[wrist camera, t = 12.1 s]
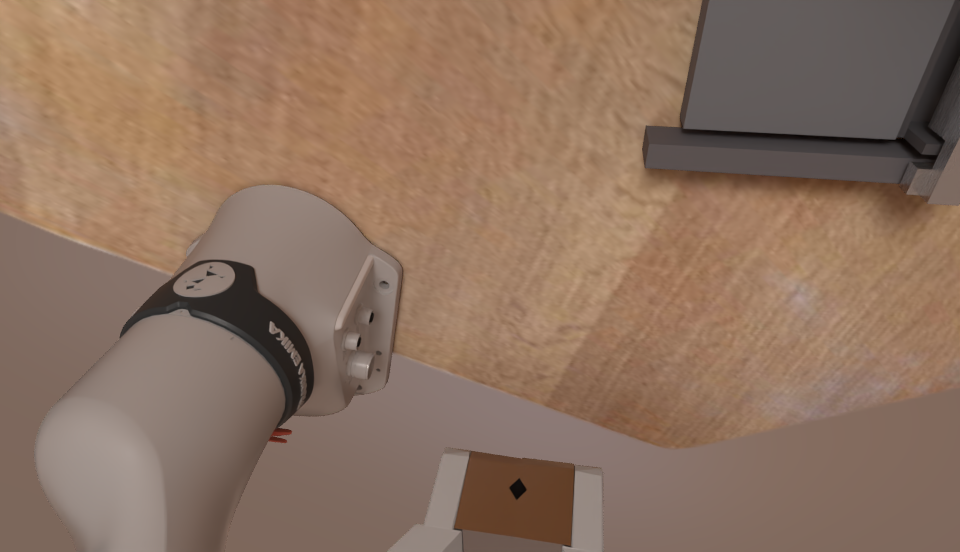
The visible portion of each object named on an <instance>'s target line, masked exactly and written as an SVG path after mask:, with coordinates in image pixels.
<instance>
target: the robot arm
mask: <svg viewBox="0 0 960 552" xmlns="http://www.w3.org/2000/svg"><path fill="white" fill-rule="evenodd" d="M186 256H187V258H186V259H185V261H184V262H183V263H182V264H181V266H180V267H179V268H178V270H177V271H176V272H175V274H174V275H173V276H172V277H171V279H170V280H169V281H168V282H167V283H165V284H164V285H163V286H161V287H160V288H159V289H158V290H157V291H156V292H155V293H154V294H153V295H152V296H151V297H150V298H149V299H148V300H147V301H146V302H145V303H144V304H143V305H142V306H141V307H139V308H138V309H137V310H136V311H135V312H134V313H133V315H132V316H131V318H130V319H129V320H128V321H127V322H126V324H125V325H124V327H123V329H122V331H121V334H120V339H119V340H118V341H117V342H116V343H115V344H114V345H113V346H112V347H111V348H110V349H109V350H108V351H107V352H106V353H105V354H104V355H103V356H102V357H101V358H100V359H99V360H98V361H97V362H96V363H95V364H94V365H93V366H92V367H91V368H90V369H89V370H88V371H87V372H86V373H85V374H84V375H83V376H82V377H81V378H80V379H79V380H78V381H77V382H76V383H75V384H74V385H73V386H72V387H71V388H70V389H69V390H68V391H67V392H66V393H65V394H64V395H63V396H62V397H61V398H60V399H59V400H58V401H57V402H56V403H55V404H54V405H53V406H52V408H51V409H50V410H49V412H48V413H47V415H46V416H45V418H44V419H43V422H42V424H41V426H40V428H39V430H38V433H37V437H36V442H35V449H34V457H35V467H36V472H37V476H38V479H39V482H40V485H41V487H42V489H43V492H44V494H45V496H46V498H47V500H48V502H49V503H50V505H51V507H52V508H53V510H54V511H55V513H56V514H57V516H58V517H59V519H60V520H61V522H62V523H63V525H64V526H65V527H66V529H67V531H68V533H69V534H70V536H71V539H72V541H73V544H74V547H75V550H76V552H225V547H226V541H227V537H228V532H229V528H230V525H231V522H232V518H233V515H234V513H235V510H236V508H237V505H238V503H239V501H240V498H241V496H242V494H243V492H244V489H245V487H246V485H247V483H248V481H249V478H250V476H251V474H252V472H253V470H254V468H255V466H256V464H257V462H258V460H259V458H260V456H261V454H262V452H263V450H264V448H265V446H266V444H267V442H268V441H272V442H281V443H286V442H287V440H285V439H282V438H277V437H273V436H281V435H289V434H291V433H292V431H291V430H288V429H281V428H278V427H280V426H281V425H282V424H283V423H285V422H286V421H287V420H288V419H289V418H290V417H291V416H292V415H294V416H325V415H330V414H334V413H337V412H339V411H341V410H343V409H344V408H346V407H347V405H348V404H349V403H350V401H351V399H352V398H353V396H354V395H364V394H369V393H372V392H376V391H378V390H381V389H383V388H384V387H385V385H386V383H387V382H388V378H389V373H390V366H391V358H392V350H393V343H394V335H395V327H396V320H397V312H398V305H399V297H400V289H401V282H402V274H403V271H402V267H401V265H400V264H399V262H398V261H397V260H395V259H394V258H393V257H391V256H390V255H388V254H387V253H385V252H384V251H382V250H380V249H379V248H377V247H375V246H374V245H372V244H371V243H370V242H369V241H368V240H367V239H366V238H365V237H364V236H363V235H362V233H361V232H360V231H359V230H358V229H357V227H356V226H355V225H354V224H353V223H352V222H351V221H350V220H349V219H348V218H347V217H346V216H345V215H344V214H342V213H341V212H340V211H339V210H337V209H336V208H335V207H333V206H332V205H330V204H329V203H327V202H326V201H324V200H322V199H320V198H318V197H316V196H314V195H312V194H310V193H307V192H305V191H302V190H299V189H295V188H291V187H286V186H279V185H260V186H253V187H249V188H246V189H243V190H241V191H239V192H237V193H235V194H233V195H232V196H230V197H229V198H228V199H227V200H226V201H225V202H224V203H223V204H222V205H221V207H220V208H219V210H218V211H217V213H216V215H215V217H214V219H213V221H212V223H211V225H210V226H209V228H208V229H207V231H206V232H205V233H204V234H202V235H201V236H199V237H198V238H197V239H195V240H194V241H193V243H192V244H191V245H190V246H189V248H188V249H187V251H186ZM383 281H386V282H387V283H388V284H385V283H383ZM603 531H604V529H603V472H602V469H601V468H598V467H589V466H580V465H575V466H574V464H572V463H571V464H570V463H563V462H554V461H546V460H537V459H528V458H522V459H521V458H514V457H508V456H501V455H494V454H488V453H482V452H475V451H469V450H462V449H454V448H447V447H446V448H445V450H444V452H443V454H442V457H441V460H440V465H439V468H438V472H437V476H436V479H435V483H434V487H433V491H432V495H431V498H430V502H429V506H428V509H427V513H426V517H425V520H424V524H423V525H422V524H415V525H414V526H413V527H412V528H411V529H410V530H409V531H408V532H407V533H406V534H405V535H403V537H401V538H400V539H399V540H398V541H397V542H396V543H395V544H394V545H393V546H392V547H391V548H390V549H389V550H388V551H387V552H604V537H603V536H604V535H603V534H604V532H603Z"/></svg>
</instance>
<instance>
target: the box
mask: <svg viewBox="0 0 960 552" xmlns="http://www.w3.org/2000/svg"><path fill="white" fill-rule="evenodd" d="M959 57H960V0H955V1H954V3H953V6H952V8H951V10H950V13H949V15H948V17H947V20H946V22H945V24H944V27H943V29H942V31H941V34H940V36H939V39H938V41H937V43H936V46H935V48H934V50H933V53H932V55H931V57H930V60H929V62H928V64H927V67H926V69H925V71H924V74H923V76H922V78H921V81H920V83H919V85H918V88H917V90H916V92H915V95H914V97H913V99H912V102H911V104H910V106H909V109H908V111H907V113H906V116H905V118H904V121H903V123H902V125H901V128H900V130H899V132H898V135H897V137H901V138H905V139H906V140H907V141H908V142H909V143H910V144H911V145H912V146H913V147H914V148H915V149H916V150H917V151H919V152H920V153H921V154H926V155H939V153H940V151H941V149H942V147H943V145H944V143H945V140H944V139H943V138H942V137H940V136H939V135H938V134H937V133H936V132H934V131H933V130H932V129H931V128H930V127H928V125H929V123H930V121H931V119H932V117H933V114H934V112H935V110H936V108H937V106H938V103H939V101H940V99H941V97H942V95H943V92H944V90H945V88H946V86H947V84H948V81H949V79H950V77H951V75H952V73H953V70H954V68H955V66H956V64H957V62H958V59H959Z"/></svg>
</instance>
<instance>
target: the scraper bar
mask: <svg viewBox="0 0 960 552" xmlns="http://www.w3.org/2000/svg"><path fill="white" fill-rule="evenodd" d="M928 127H930V128H931V129H932V130H933V131H934V132H936V133H937V134H938V135H939V136H940V137H942V138H943V139H944V140H945V143H944V145H943V147H942V149H941V151H940V153H939V155H938V157H937V159H936V162H935V163H931V162H913V161H910V163H909V165H908V168H907V170H906V172H905V174H904V176H903V179H902V181H901V183H900V185H899V187H900V188H901V189H902V191H903V192H904V193H905V194H907V195H920V197H921V198H922V199H923V200H924V201H925V202H926V203H927V204H940V205H956V206H959V204H960V57H959V59H958V62H957V64H956V66H955V68H954V70H953V73H952V75H951V77H950V79H949V81H948V84H947V86H946V88H945V90H944V92H943V95H942V97H941V99H940V101H939V103H938V106H937V108H936V110H935V112H934V114H933V117H932V119H931V121H930V123H929V125H928Z"/></svg>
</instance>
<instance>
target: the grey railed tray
mask: <svg viewBox="0 0 960 552" xmlns="http://www.w3.org/2000/svg"><path fill="white" fill-rule="evenodd" d="M954 1H955V0H703V1H702V6H701V11H700V16H699V21H698V27H697V32H696V37H695V42H694V47H693V52H692V57H691V62H690V67H689V72H688V78H687V83H686V88H685V93H684V98H683V103H682V108H681V113H680V119H681V123H682V126H683V128H680V127H660V126H646V129H645V135H644V142H643V148H642V150H643V157H644V164H645V168H654V169H670V170H686V171H702V172H718V173H734V174H751V175H767V176H783V177H799V178H815V179H831V180H848V181H864V182H880V183H896V184H900V183H901V181H902V179H903V176H904V174H905V172H906V170H907V168H908V165H909V163H910V161H913V162H931V163H935V162H936V159H937V157H938V155H926V154H921V153H920V152H919V151H917V150H916V149H915V148H914V147H913V146H912V145H911V144H910V143H909V142H908V141H907V140H906V139H896V137H897V135H898V132H899V130H900V128H901V125H902V123H903V121H904V118H905V116H906V113H907V111H908V109H909V106H910V104H911V102H912V99H913V97H914V95H915V92H916V90H917V88H918V85H919V83H920V81H921V78H922V76H923V74H924V71H925V69H926V67H927V64H928V62H929V60H930V57H931V55H932V53H933V50H934V48H935V46H936V43H937V41H938V39H939V36H940V34H941V31H942V29H943V27H944V24H945V22H946V20H947V17H948V15H949V13H950V10H951V8H952V6H953V3H954Z"/></svg>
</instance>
